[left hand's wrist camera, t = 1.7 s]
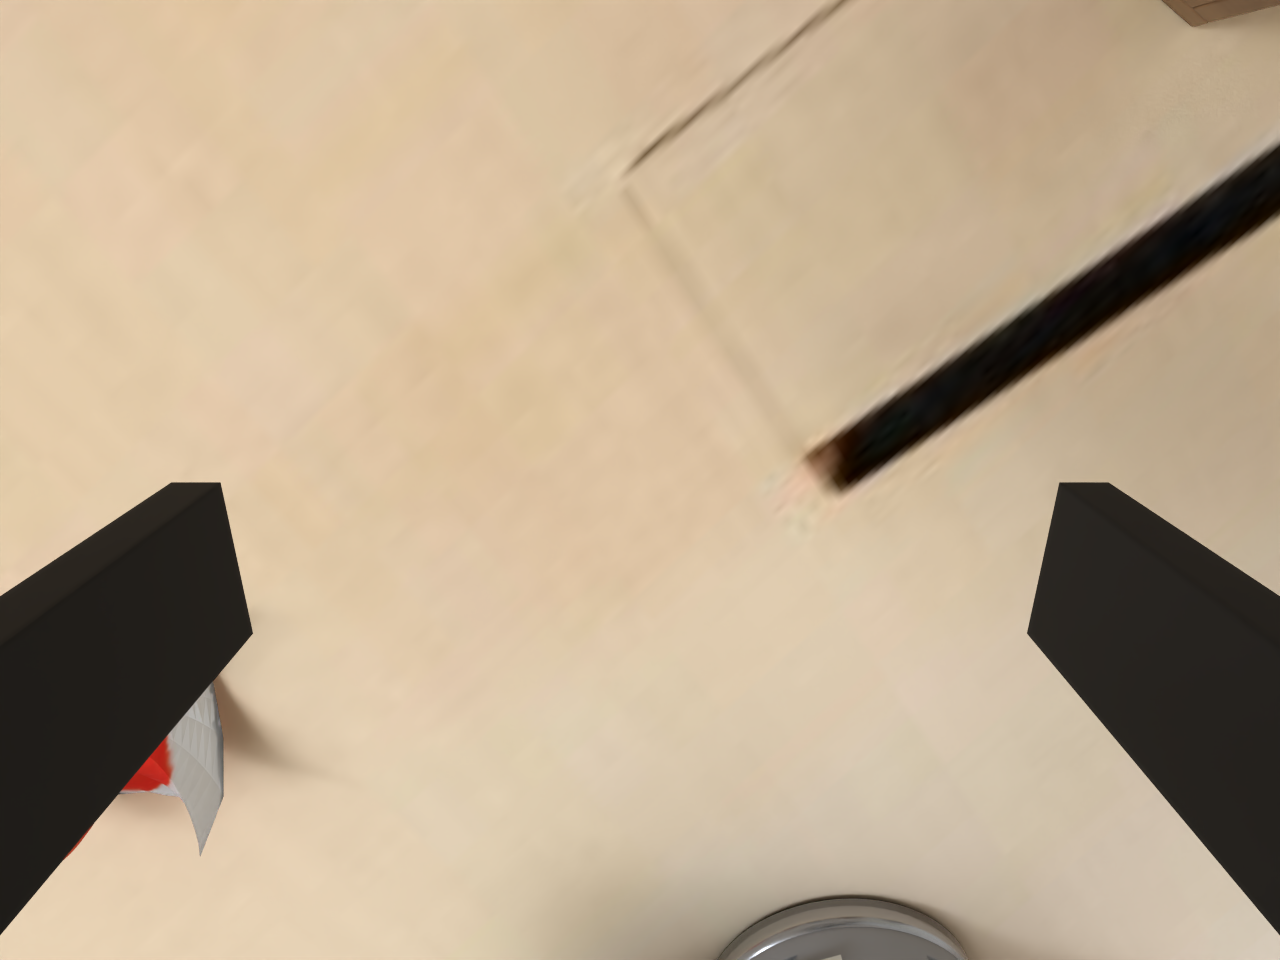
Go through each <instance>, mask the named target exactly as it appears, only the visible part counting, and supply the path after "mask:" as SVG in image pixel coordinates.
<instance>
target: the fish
mask: <svg viewBox="0 0 1280 960" xmlns="http://www.w3.org/2000/svg"><path fill="white" fill-rule="evenodd" d="M140 792H152V793H157V794H162V795H169V796H177V797H180V798H181V800H182V801H183V802H184V803H185V805H186V807H187V810H188V812H189V814H190V817H191V820H192V823H193V825H194V828H195V832H196V835H197V839H198V843H199V851H200V856H201V853H202V851H203V848H204V845H205V843H206V840H207V838H208V835H209V833H210V830H211V827H212V825H213V822H214V820H215V817H216V814H217V812H218V809H219V807H220V804H221V801H222V799H223V734H222V728H221V723H220V717H219V712H218V706H217V701H216V695H215V690H214V684H213V682H212V683H211V684H210V685H209V686H208V688H207V689H206V690H205V691H204V692H203V694H202V695H201V696H200V697H199V698H198V700H197V701H196V702H195V703H194V704H193V706H192V707H191V708H190V709H189V710H188V712H187V713H186V714H185V715H184V716H183V718H182V719H181V720H180V721H179V722H178V723H177V725H176V726H175V727H174V728H173V729H172V731H171V732H170V733H169V734H168V735H167V737H166V738H165V739H164V740H163V741H162V743H161V744H160V745H159V746H158V747H157V749H156V750H155V751H154V752H153V753H152V755H151V756H150V757H149V758H148V759H147V760H146V762H145V763H144V764H143V765H142V766H141V768H140V769H139V770H138V771H137V772H136V774H135V775H134V776H133V777H132V778H131V780H130V781H129V782H128V783H127V784H126V786H125V787H124V788H123V789H122V790H121V792H120V793H119V794H128V793H140ZM92 826H93V825H92ZM92 826H91V827H92ZM91 827H90V829H91ZM90 829H89V830H90ZM89 830H88V831H89ZM88 831H87V832H86V833H85V834H84V836H83V837H82V838H81V839H80V840H79V842H78V843H77V844H76V845H75V846H74V848H73V849H72V850H71V851H70V852H69V854H70V853H71V852H72V851H73V850H74V849H75V848H76V847H77V846H78V844H79V843H80V842H81V841H82V839H83V838H84V837H85V835H86V834H87V833H88ZM69 854H68V855H69ZM68 855H67V856H68ZM67 856H66V857H67ZM66 857H65V858H66ZM65 858H64V859H65Z"/></svg>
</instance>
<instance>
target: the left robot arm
mask: <svg viewBox="0 0 1280 960" xmlns="http://www.w3.org/2000/svg"><path fill="white" fill-rule="evenodd" d="M252 634H253V632H252V627H251V622H250V618H249V613H248V608H247V604H246V599H245V594H244V590H243V585H242V580H241V576H240V571H239V567H238V562H237V557H236V553H235V548H234V543H233V539H232V534H231V529H230V525H229V520H228V515H227V511H226V506H225V501H224V497H223V492H222V487H221V483H170V484H169V485H167V486H166V487H164V488H163V489H161V490H160V491H158V492H157V493H155V494H153V495H152V496H150V497H149V498H147V499H146V500H144V501H143V502H141V503H140V504H138V505H137V506H135V507H134V508H132V509H131V510H129V511H128V512H126V513H125V514H123V515H122V516H120V517H119V518H117V519H116V520H114V521H113V522H111V523H110V524H108V525H107V526H105V527H104V528H102V529H101V530H99V531H98V532H96V533H95V534H93V535H92V536H90V537H89V538H87V539H86V540H84V541H83V542H81V543H80V544H78V545H77V546H75V547H74V548H72V549H71V550H69V551H68V552H66V553H65V554H63V555H62V556H60V557H59V558H57V559H56V560H54V561H53V562H51V563H50V564H48V565H47V566H45V567H44V568H42V569H41V570H39V571H38V572H36V573H35V574H33V575H32V576H30V577H29V578H27V579H26V580H24V581H23V582H21V583H19V584H18V585H16V586H15V587H13V588H12V589H10V590H9V591H7V592H6V593H4V594H3V595H1V596H0V935H1V934H2V932H3V931H4V930H5V929H6V928H7V926H8V925H9V924H10V923H11V922H12V920H13V919H14V918H15V917H16V916H17V914H18V913H19V912H20V911H21V910H22V909H23V907H24V906H25V905H26V904H27V903H28V901H29V900H30V899H31V898H32V897H33V895H34V894H35V893H36V892H37V891H38V889H39V888H40V887H41V886H42V885H43V883H44V882H45V881H46V880H47V879H48V877H49V876H50V875H51V874H52V873H53V872H54V870H55V869H56V868H57V867H58V866H59V864H60V863H61V862H62V861H63V860H64V858H65V857H66V856H67V855H68V854H69V852H70V851H71V850H72V849H73V848H74V846H75V845H76V844H77V843H78V842H79V840H80V839H81V838H82V837H83V836H84V834H85V833H86V832H87V831H88V830H89V829H90V827H91V826H92V825H93V824H94V823H95V821H96V820H97V819H98V818H99V817H100V815H101V814H102V813H103V812H104V811H105V809H106V808H107V807H108V806H109V805H110V803H111V802H112V801H113V800H114V799H115V797H116V796H117V795H118V794H119V793H120V792H121V790H122V789H123V788H124V787H125V786H126V784H127V783H128V782H129V781H130V780H131V778H132V777H133V776H134V775H135V774H136V772H137V771H138V770H139V769H140V768H141V766H142V765H143V764H144V763H145V762H146V760H147V759H148V758H149V757H150V756H151V755H152V753H153V752H154V751H155V750H156V749H157V747H158V746H159V745H160V744H161V743H162V741H163V740H164V739H165V738H166V737H167V735H168V734H169V733H170V732H171V731H172V729H173V728H174V727H175V726H176V725H177V723H178V722H179V721H180V720H181V719H182V718H183V716H184V715H185V714H186V713H187V712H188V710H189V709H190V708H191V707H192V706H193V704H194V703H195V702H196V701H197V700H198V698H199V697H200V696H201V695H202V694H203V692H204V691H205V690H206V689H207V688H208V686H209V685H210V684H211V683H212V682H213V681H214V679H215V678H216V677H217V676H218V675H219V673H220V672H221V671H222V670H223V669H224V667H225V666H226V665H227V664H228V663H229V661H230V660H231V659H232V658H233V657H234V655H235V654H236V653H237V652H238V651H239V649H240V648H241V647H242V646H243V645H244V643H245V642H246V641H247V640H248V639H249V638H250V636H251V635H252ZM1027 634H1028V635H1029V636H1030V638H1031V639H1032V640H1033V641H1034V642H1035V643H1036V645H1037V646H1038V647H1039V648H1040V649H1041V651H1042V652H1043V653H1044V654H1045V655H1046V657H1047V658H1048V659H1049V660H1050V661H1051V663H1052V664H1053V665H1054V666H1055V667H1056V669H1057V670H1058V671H1059V672H1060V673H1061V675H1062V676H1063V677H1064V678H1065V679H1066V681H1067V682H1068V683H1069V684H1070V685H1071V686H1072V688H1073V689H1074V690H1075V691H1076V692H1077V694H1078V695H1079V696H1080V697H1081V698H1082V700H1083V701H1084V702H1085V703H1086V704H1087V706H1088V707H1089V708H1090V709H1091V710H1092V712H1093V713H1094V714H1095V715H1096V716H1097V718H1098V719H1099V720H1100V721H1101V722H1102V723H1103V725H1104V726H1105V727H1106V728H1107V729H1108V731H1109V732H1110V733H1111V734H1112V735H1113V737H1114V738H1115V739H1116V740H1117V741H1118V743H1119V744H1120V745H1121V746H1122V747H1123V749H1124V750H1125V751H1126V752H1127V753H1128V755H1129V756H1130V757H1131V758H1132V759H1133V760H1134V762H1135V763H1136V764H1137V765H1138V766H1139V768H1140V769H1141V770H1142V771H1143V772H1144V774H1145V775H1146V776H1147V777H1148V778H1149V780H1150V781H1151V782H1152V783H1153V784H1154V786H1155V787H1156V788H1157V789H1158V790H1159V792H1160V793H1161V794H1162V795H1163V796H1164V797H1165V799H1166V800H1167V801H1168V802H1169V803H1170V805H1171V806H1172V807H1173V808H1174V809H1175V811H1176V812H1177V813H1178V814H1179V815H1180V817H1181V818H1182V819H1183V820H1184V821H1185V823H1186V824H1187V825H1188V826H1189V827H1190V829H1191V830H1192V831H1193V832H1194V833H1195V834H1196V836H1197V837H1198V838H1199V839H1200V840H1201V842H1202V843H1203V844H1204V845H1205V846H1206V848H1207V849H1208V850H1209V851H1210V852H1211V854H1212V855H1213V856H1214V857H1215V858H1216V860H1217V861H1218V862H1219V863H1220V864H1221V866H1222V867H1223V868H1224V869H1225V870H1226V872H1227V873H1228V874H1229V875H1230V876H1231V877H1232V879H1233V880H1234V881H1235V882H1236V883H1237V885H1238V886H1239V887H1240V888H1241V889H1242V891H1243V892H1244V893H1245V894H1246V895H1247V897H1248V898H1249V899H1250V900H1251V901H1252V903H1253V904H1254V905H1255V906H1256V907H1257V909H1258V910H1259V911H1260V912H1261V913H1262V914H1263V916H1264V917H1265V918H1266V919H1267V920H1268V922H1269V923H1270V924H1271V925H1272V926H1273V928H1274V929H1275V930H1276V931H1277V932H1278V934H1279V935H1280V596H1279V595H1277V594H1276V593H1274V592H1273V591H1271V590H1270V589H1268V588H1267V587H1265V586H1264V585H1262V584H1261V583H1259V582H1257V581H1256V580H1254V579H1253V578H1251V577H1250V576H1248V575H1247V574H1245V573H1244V572H1242V571H1241V570H1239V569H1238V568H1236V567H1235V566H1233V565H1232V564H1230V563H1229V562H1227V561H1226V560H1224V559H1223V558H1221V557H1220V556H1218V555H1217V554H1215V553H1214V552H1212V551H1211V550H1209V549H1208V548H1206V547H1205V546H1203V545H1202V544H1200V543H1199V542H1197V541H1196V540H1194V539H1193V538H1191V537H1190V536H1188V535H1187V534H1185V533H1184V532H1182V531H1181V530H1179V529H1178V528H1176V527H1175V526H1173V525H1172V524H1170V523H1169V522H1167V521H1166V520H1164V519H1163V518H1161V517H1160V516H1158V515H1157V514H1155V513H1154V512H1152V511H1151V510H1149V509H1148V508H1146V507H1145V506H1143V505H1142V504H1140V503H1139V502H1137V501H1136V500H1134V499H1133V498H1131V497H1130V496H1128V495H1127V494H1125V493H1123V492H1122V491H1120V490H1119V489H1117V488H1116V487H1114V486H1113V485H1111V484H1110V483H1059V487H1058V492H1057V497H1056V501H1055V506H1054V511H1053V515H1052V520H1051V525H1050V529H1049V534H1048V539H1047V543H1046V548H1045V553H1044V557H1043V562H1042V567H1041V571H1040V576H1039V580H1038V585H1037V590H1036V594H1035V599H1034V604H1033V608H1032V613H1031V618H1030V622H1029V627H1028V632H1027ZM718 960H968V958H967V956H966V953H965V951H964V950H963V948H962V946H961V945H960V943H959V942H958V941H957V939H956V938H955V937H954V936H953V935H952V934H951V933H950V932H949V931H948V930H947V929H946V928H945V927H943V926H942V925H941V924H939V923H938V922H937V921H935V920H933V919H932V918H930V917H928V916H926V915H924V914H922V913H920V912H918V911H916V910H913V909H910V908H908V907H905V906H901V905H898V904H894V903H890V902H884V901H879V900H870V899H853V898H851V899H833V900H823V901H818V902H812V903H808V904H803V905H799V906H796V907H793V908H790V909H787V910H784V911H781V912H779V913H776V914H774V915H772V916H770V917H768V918H766V919H764V920H762V921H760V922H758V923H757V924H755V925H753V926H752V927H750V928H749V929H747V930H746V931H745V932H743V933H742V934H740V935H739V936H738V937H737V938H736V939H735V940H734V941H733V942H731V944H730V945H729V946H728V947H727V948H726V949H725V950H724V951H723V953H722V954H721V955H720V957H719V958H718Z"/></svg>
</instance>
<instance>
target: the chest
mask: <svg viewBox="0 0 1280 960" xmlns="http://www.w3.org/2000/svg"><path fill="white" fill-rule="evenodd" d="M1162 1H1164V2H1165V3H1166V4H1167V5H1168V6H1169V7H1170V8H1172V9H1173V10H1174V11H1175V12H1176V13H1177V14H1178V15H1180V16H1181V17H1182V18H1183V19H1184V20H1185V21H1186V22H1188V23H1189V24H1190V25H1191V26H1193V27H1195V26H1198V25H1202V24H1206V23H1208V22H1214V21H1218V20H1222V19H1225V18H1229V17H1233V16H1237V15H1241V14H1245V13H1249V12H1253V11H1257V10H1261V9H1265V8H1269V7H1273V6H1277V5H1280V0H1162Z"/></svg>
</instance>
